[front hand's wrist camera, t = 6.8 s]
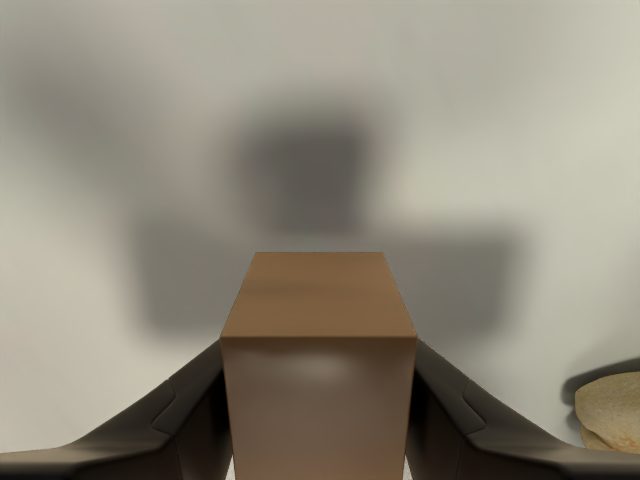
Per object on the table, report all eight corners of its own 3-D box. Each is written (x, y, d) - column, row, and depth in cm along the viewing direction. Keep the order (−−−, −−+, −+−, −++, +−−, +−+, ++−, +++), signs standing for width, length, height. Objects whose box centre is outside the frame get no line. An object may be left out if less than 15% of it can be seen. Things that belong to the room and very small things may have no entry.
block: (375, 376, 13) (400, 502, 9) (263, 376, 13) (237, 502, 9) (382, 251, 12) (418, 336, 7) (255, 251, 12) (219, 336, 7)
